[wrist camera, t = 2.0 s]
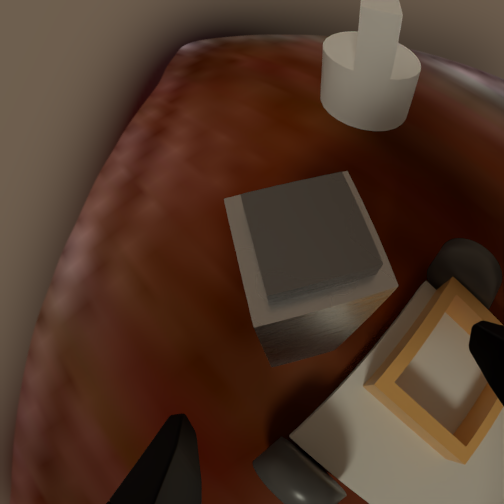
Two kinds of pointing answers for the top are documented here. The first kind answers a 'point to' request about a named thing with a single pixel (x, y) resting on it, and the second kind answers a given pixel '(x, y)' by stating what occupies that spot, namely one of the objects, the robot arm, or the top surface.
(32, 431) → the top surface
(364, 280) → the grey box
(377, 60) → the base with upright slab
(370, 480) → the chassis
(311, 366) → the top surface
